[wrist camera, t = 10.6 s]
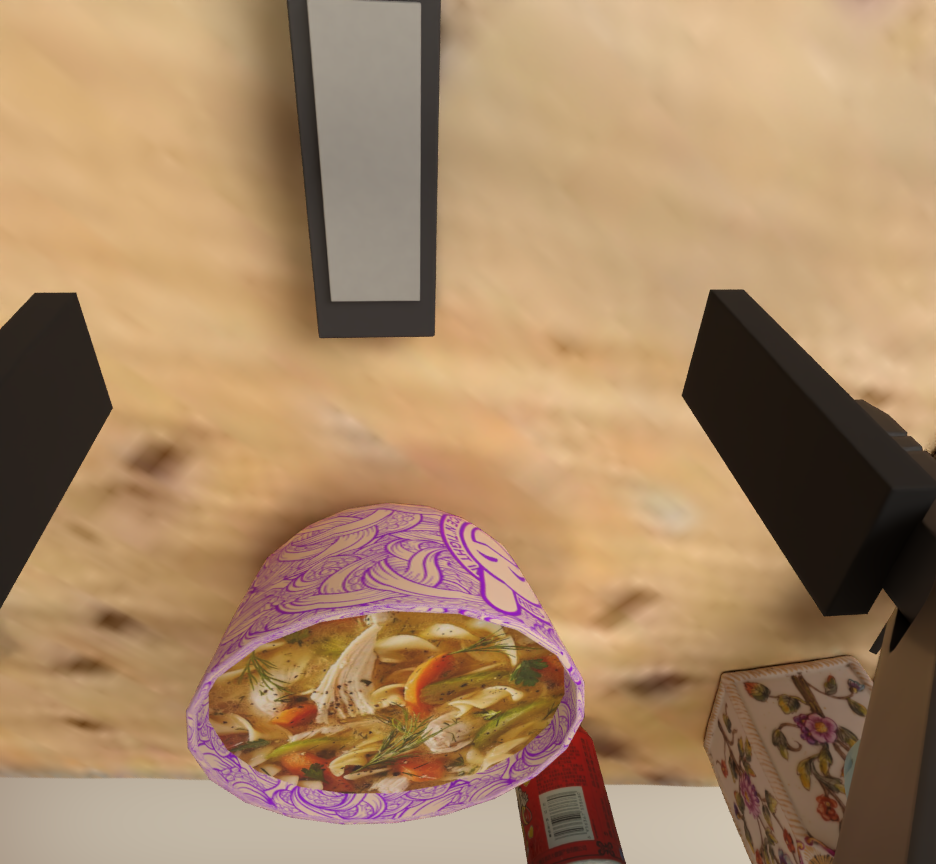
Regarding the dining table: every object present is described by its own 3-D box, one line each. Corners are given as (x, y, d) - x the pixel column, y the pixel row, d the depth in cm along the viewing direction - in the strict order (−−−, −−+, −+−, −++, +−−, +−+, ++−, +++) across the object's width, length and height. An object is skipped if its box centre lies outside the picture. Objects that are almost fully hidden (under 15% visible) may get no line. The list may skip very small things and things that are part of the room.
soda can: (493, 725, 57) (520, 891, 47) (573, 697, 56) (617, 863, 46) (522, 760, 61) (552, 921, 51) (597, 736, 60) (642, 895, 50)
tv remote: (430, 309, 34) (435, 341, 31) (322, 310, 33) (318, 343, 30) (436, -144, 23) (444, -151, 21) (280, -154, 23) (269, -163, 20)
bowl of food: (561, 433, 39) (620, 591, 30) (525, 647, 51) (559, 808, 42) (197, 443, 37) (139, 618, 27) (248, 666, 49) (220, 840, 39)
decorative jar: (822, 726, 64) (952, 961, 49) (699, 744, 63) (796, 987, 49) (857, 649, 56) (1023, 898, 42) (719, 668, 56) (839, 928, 41)
